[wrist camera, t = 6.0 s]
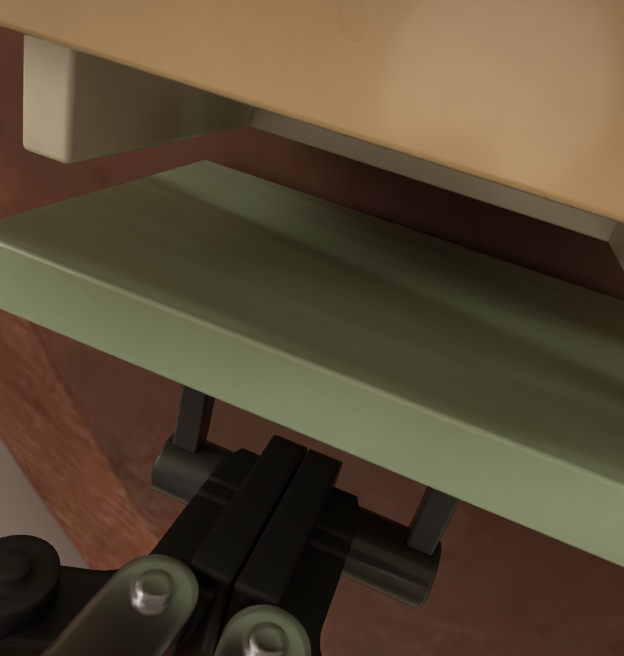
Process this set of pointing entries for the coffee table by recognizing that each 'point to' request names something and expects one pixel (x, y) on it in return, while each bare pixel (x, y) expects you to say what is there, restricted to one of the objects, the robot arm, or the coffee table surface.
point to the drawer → (325, 319)
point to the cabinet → (393, 75)
